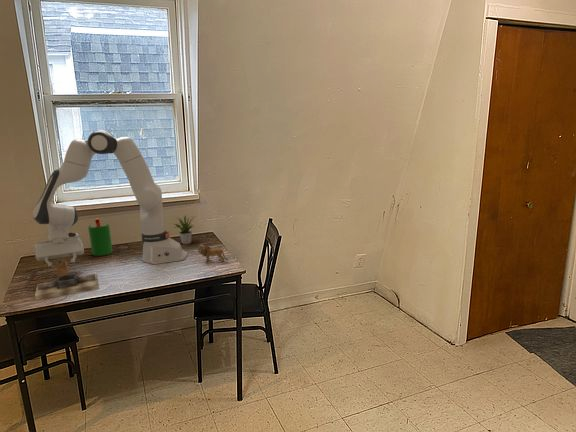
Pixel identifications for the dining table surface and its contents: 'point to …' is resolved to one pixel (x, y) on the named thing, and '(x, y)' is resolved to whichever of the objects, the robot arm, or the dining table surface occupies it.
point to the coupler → (62, 267)
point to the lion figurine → (210, 252)
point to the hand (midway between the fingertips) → (61, 264)
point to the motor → (100, 239)
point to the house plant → (185, 230)
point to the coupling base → (66, 285)
